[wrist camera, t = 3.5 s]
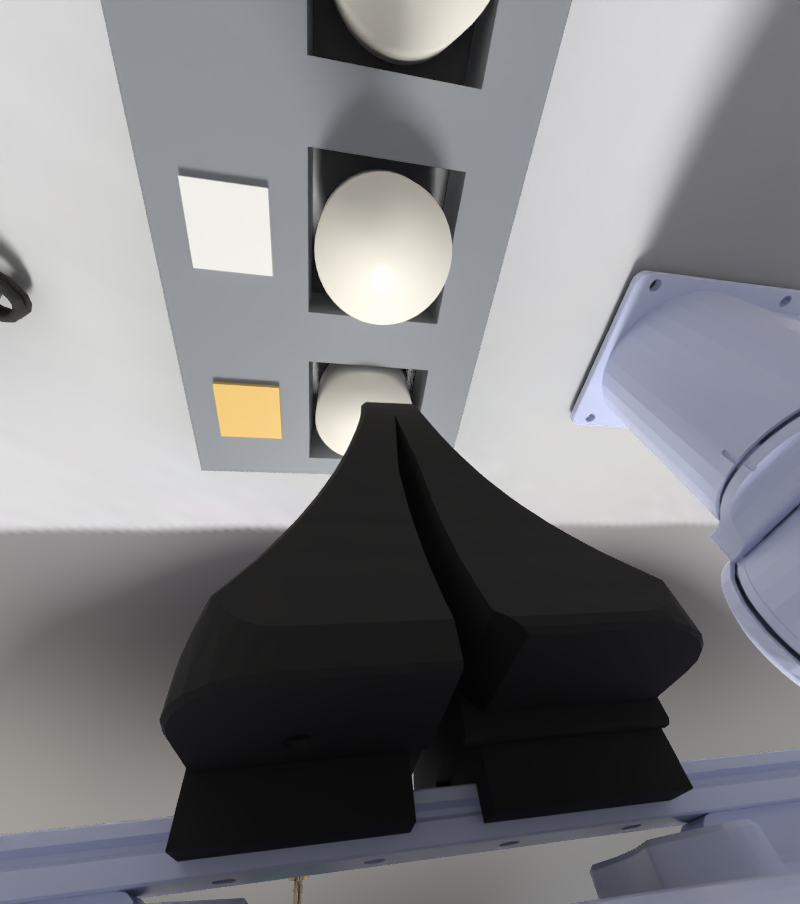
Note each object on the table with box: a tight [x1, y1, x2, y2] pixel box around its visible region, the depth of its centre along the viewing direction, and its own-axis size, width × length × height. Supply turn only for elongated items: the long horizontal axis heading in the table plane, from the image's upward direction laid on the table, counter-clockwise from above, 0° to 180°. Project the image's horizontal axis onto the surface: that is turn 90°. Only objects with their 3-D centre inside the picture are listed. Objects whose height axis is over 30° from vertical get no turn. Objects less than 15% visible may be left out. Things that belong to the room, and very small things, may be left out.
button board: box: [101, 0, 572, 474], centre depth 15 cm, size 12×21×3 cm, turn 172°
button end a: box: [315, 363, 412, 456], centre depth 19 cm, size 4×4×3 cm
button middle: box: [314, 169, 452, 325], centre depth 14 cm, size 4×4×3 cm
